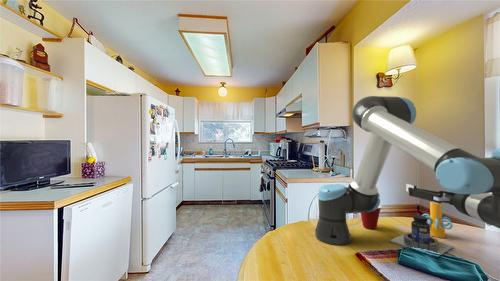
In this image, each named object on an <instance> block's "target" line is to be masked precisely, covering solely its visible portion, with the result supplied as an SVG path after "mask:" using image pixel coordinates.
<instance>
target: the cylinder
mask: <svg viewBox="0 0 500 281" xmlns="http://www.w3.org/2000/svg"><path fill="white" fill-rule="evenodd" d="M442 208H443V207H442V203H441V204H438V203H436V202H433V201H430V202H429V211H430V212H429V213H430V214H428V213H423V214H422V215H421V216H425V217H427V218H428V221H427V223H428V224H429V225H430V237H433V238H434V237H435V238H439V239H443V238H446V230H451V229H452V228H453V223H452V222H451V219H450V218H449V217H448V216H443V213H442V212H443V211H442ZM442 216H443V217H442ZM444 222H447V223H444ZM448 226H449V227H448Z"/></svg>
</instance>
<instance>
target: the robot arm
mask: <svg viewBox="0 0 500 281" xmlns="http://www.w3.org/2000/svg"><path fill="white" fill-rule="evenodd" d="M416 108H417V107H415V104H414V103H413V101H411V100H410V99H408V98H406V97H401V96H383V95H381V96H379V95H378V96H377V95H369V96H365V97H363V98H361V99H360V100H358V101H357V102H356V103H355V105H354V106H353V108H352V111H351V116H352V119H353V120H352V121H353V122H354V123H355V125H357V127H359V128H360V129H362V130H364V131H365V132H368V133H370V134H369V135H368V139H367V142H366V145H365V148H364V151H363V154H362V157H361V160H360V162H359V166H358V168H357V171H356V174H355V178H353V179H351V180H350V181H349V183H348V186H347V187H346V186H345V185H344V184H339V183H335V184H334V183H332V184H330V183H329V184H326V185H323V186H320V188H318V197H317V198H318V220H317V224H316V226H315V230H314V232H315V233H314V237H315V238H316V239H317V240H319V241H321V242H323V243H325V244H329V245H335V246H336V245H337V246H342V245H348V244H350V243H351V242H352V234H351V232H350V229H349V225H348V223H347V215H348V214H350V215H351V214H361V213H368V212H372V211H374V210H376V209H377V208H378V206H379V205H381V204H380V203H381V199H380V193H379V190H378V187H377V183H378V181H379V178H380V176H381V174H382V170H383V169H384V166H385V164H386V160H387V158H388V155H389V153H390V151H391V149H392V146H394V147H395V148H397V149H399V151H402V152H403V153H404V154H406V155H407V156H409V157H411V159H413V160H414V161H415V160H416V162H418V163H420V164H422V165H423V166H424V167H425V168H427V169H429V170H431V171H432V172H433V173H435V178H436V180H437V182H438V183H439V185H440V186H441V187H442V188H443V189H444V190H439V191H438V190H437V191H436V190H429V189H426V188H425V189H424V188H420V187H418V186H417V185H413V184H409V183H406V184H405V192H408V196H409V197H414V198H418V199H421V200H425V201H430V202H436V203H438V204H441V205H442V203H444V204H448V205H450V206H454V208H455V209H456V210H457V211H458V212H459V213H461V214H463V215H465V216H467V217H470V218H474V219H476V220H477V221H480V222H483V223H486V225H487V226H489V227H492V226H493V227H495V228H498V229H500V148H495V149H494V150H492V152H491V157H479V156H477V155H475V154H472V153H470V152H468V151H466V150H464V149H463V148H460V147H458V146H457V145H454V144H452V143H451V142H448V141H447V140H444V139H442V138H440V137H439V136H436V135H434V134H432V133H430V132H428V131H426V130H424V129H422V128H420V127H418V126H416V125H413V124H414V122H415V121H416V118H417V109H416Z"/></svg>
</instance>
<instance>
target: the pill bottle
mask: <svg viewBox="0 0 500 281" xmlns="http://www.w3.org/2000/svg"><path fill="white" fill-rule="evenodd" d="M425 216H426V215H425ZM425 216H422V215H419V214H418V215H417V214H414V215H413V217H412V219H413V220H412V221H411V225H410V226H411V229H410V230H411V233H412V240H415V241H418V242H422V243H430V237H431V235H430V225H429V223H427V221H429V218H427V217H425Z"/></svg>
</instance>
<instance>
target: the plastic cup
mask: <svg viewBox="0 0 500 281" xmlns="http://www.w3.org/2000/svg"><path fill="white" fill-rule="evenodd" d="M382 208H383V206H382V205H381V204H379V206H378V208H377V209H376V210H374V211H372V212H368V213H360V217H361V222H362V226H363V228H364V229H367V230H370V231H373V230H377V226H378V222H379V216H380V213H381V210H382Z"/></svg>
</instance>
